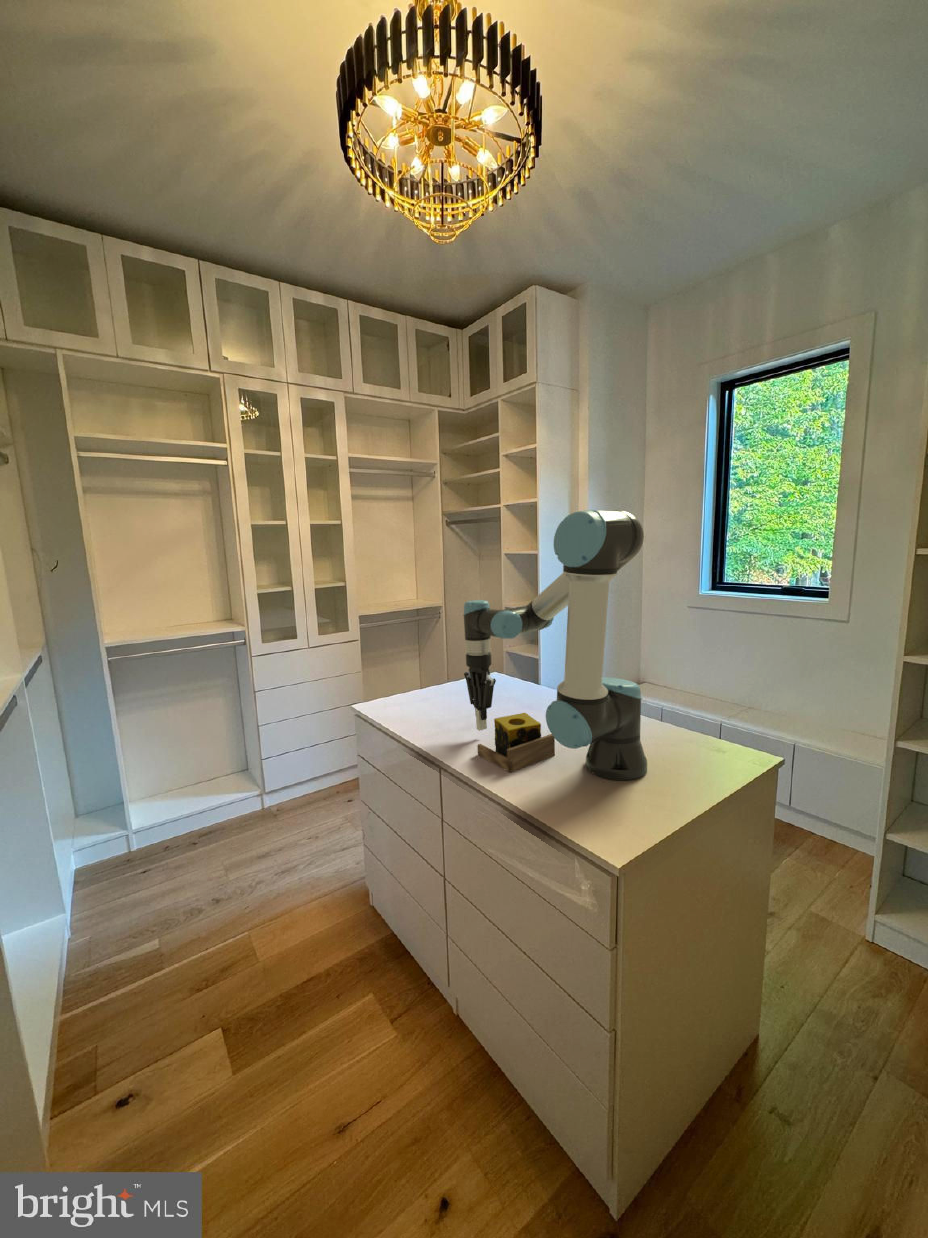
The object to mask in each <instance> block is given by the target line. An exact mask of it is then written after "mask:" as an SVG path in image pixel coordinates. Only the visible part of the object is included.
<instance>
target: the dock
mask: <svg viewBox="0 0 928 1238" xmlns="http://www.w3.org/2000/svg"><path fill="white" fill-rule="evenodd" d="M555 740H556V739H555V738H554V737H553V735H552V733H550V734H546V735H545V736H541V738H538V739H535V740H532V741H529V742H527V743H524V744H521V745H518V746H515V747H512V748H509V749H507V757H505V756H503V755H501V754H499V753H497V752H496V750H493V749H491V748H489V747H487V746H486V745H484V744H482V743H479V744H477V755H478V757H481V758H483V759H484V760H486V761H489V762H490V763H492V764H494V765H496V766H497V765H498V766H497V767H499V768H501V769H503V770H504V769H505V770H504V771H506V772H507V773H508V772H509V773H512V772H515V771H518V770H520V769H523V768H526V767H528V766H532V765H535V764H537V763H538V762H539V763H540V762H541V761H544V760H546V759H549V758H552V757H555V755H556V750H555V749H556V748H555V746H556V745H555V744H556V743H555V742H556V741H555Z"/></svg>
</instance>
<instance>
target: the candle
mask: <svg viewBox="0 0 928 1238" xmlns="http://www.w3.org/2000/svg"><path fill="white" fill-rule="evenodd" d="M493 722H494V745H495V752H497V753H499V754H501V755H503V756H505V757H507V749H509V748H512V747H515V746H518V745H521V744H524V743H527V742H529V741H532V740H535V739H538V738H541V737H542V732H541V730H542V724H541V722H539V721H538V720H536V719H535V718H533V717H532V716H531V715H530V714H528V713H527V712H520V713H516V714H511V715H506V716H505V715H504V716H500V717H496V718H494V719H493Z"/></svg>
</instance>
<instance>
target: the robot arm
mask: <svg viewBox="0 0 928 1238" xmlns="http://www.w3.org/2000/svg"><path fill="white" fill-rule="evenodd" d="M644 537H645V534H644V529H643V526H642V524H641V521H640V520H639V519H638V518H637V517H636V516H634V515H633V513H632V514H631V513H630V512H628V511H624V510H619V509H618V510H596V509H594V510H593V509H588V510H580V511H579V510H578V511H574V512H572V513H569V514H567V516H565V517H564V519H562V520H561V522H560V523H559V524H558V526H557V528H556V530H555V533H554V537H553V550H554V555H556V556H557V558H556V559H558V561H559V562H560V563H562V565H563V566H562V573H561V574H560V575H558V577H557V578H556V579H554V580H553V581H552V582H551V583H550V584H549V585H548V586H547V587H545V588H544V590H542V591H541V592H540V593H539V594H538V595H537V596H535V597H534V598H533V599H532V600H531V601H530V602H529V603H528V604H526V605H522V606H515V607H511V608H510V607H509V608H505V609H492V608H491V607H490V603H489V601H488V600H484V599H474V600H468V601H465V602H464V604H463V616H462V617H463V624H464V627H463V628H464V644H465V646H464V649H465V650H464V651H465V653H466V654H465V663H466V664H465V665H466V666H467V667H468V671H466V672H464V673H463V675H464V678H465V681H466V685H467V686H466V688H467V692H468V697H469V703H470V705H473V707H474V709H475V711H474V712H475V720H476V721H475V722H476V723H475V724H476V725H475V726H476V730H478V731H483V730H487V729H488V728H487V727H488V725H487V718H488V712H487V710H488V709H490V708H492V706H493V705H492V704H493V696H494V689H495V685H496V682H497V679H496V678H492V676H491V672H490V667H491V665H492V653H491V651H492V647H491V637H496V638H499V639H504V640H506V639H507V640H508V639H509V640H512V639H514V638H517V636H518V635H520V634H522V633H523V634H524V633H530V632H534V631H541V630H543V629H547V628H548V627H549V628H550V626H551V625H552V624H553V621H554V617H556V616H557V615H558V614H560V613H561V611H563V610H564V609H565V608H567V607H568V608H567V619H566V620H567V621H566V637H565V638H566V639H565V641H566V644H565V659H564V660H565V661H564V677H563V679H564V680H563V681H561V682H560V683H559V684H557V687H556V688H557V689H556V700H553V701H552V702H550V704H549V705H548V706H547V708H546V710H545V722H546V726H547V728H548V729H549V732H550V734H552V735H553V737H554V738H555V740H556V741H557V742H558V743H559V744H560V745H561V746H564V747H566V748H568V749H573V750H576V749H580V748H582V747H588V746H589V747H588V748H587V753H586V755H585V767H586V768H587V771H589V772H591V773H592V774H594V775H596V776H597V777H600V778H604V779H607V780H613V781H631V780H637V779H640V778H642V777H644V776H645V775H646V774H647V773H648V760H647V758H646V754H645V751H644V747H643V745H642V740H641V720H642V718H641V715H642V711H641V710H642V695H641V694H642V693H641V691H642V690H641V687H640V686H639V684H638V683H636V682H634V681H632V680H627V679H624V678H623V679H622V678H616V677H603V674H604V660H605V659H604V658H605V647H606V634H607V633H606V632H607V631H606V630H607V616H608V604H609V592H610V591H609V589H610V588H609V587H610V581H611V580H612V579H613V578H614V577H615V576H617V575H618V571H620V570H621V569H622V568H623V567H624V566H626V565H627V564H628V563H629V562H630V561H631V560H633V559H634V558H635V557H636V556H637V555H638V553H639V552H640V550H641V549H642V547H643V543H644Z"/></svg>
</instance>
